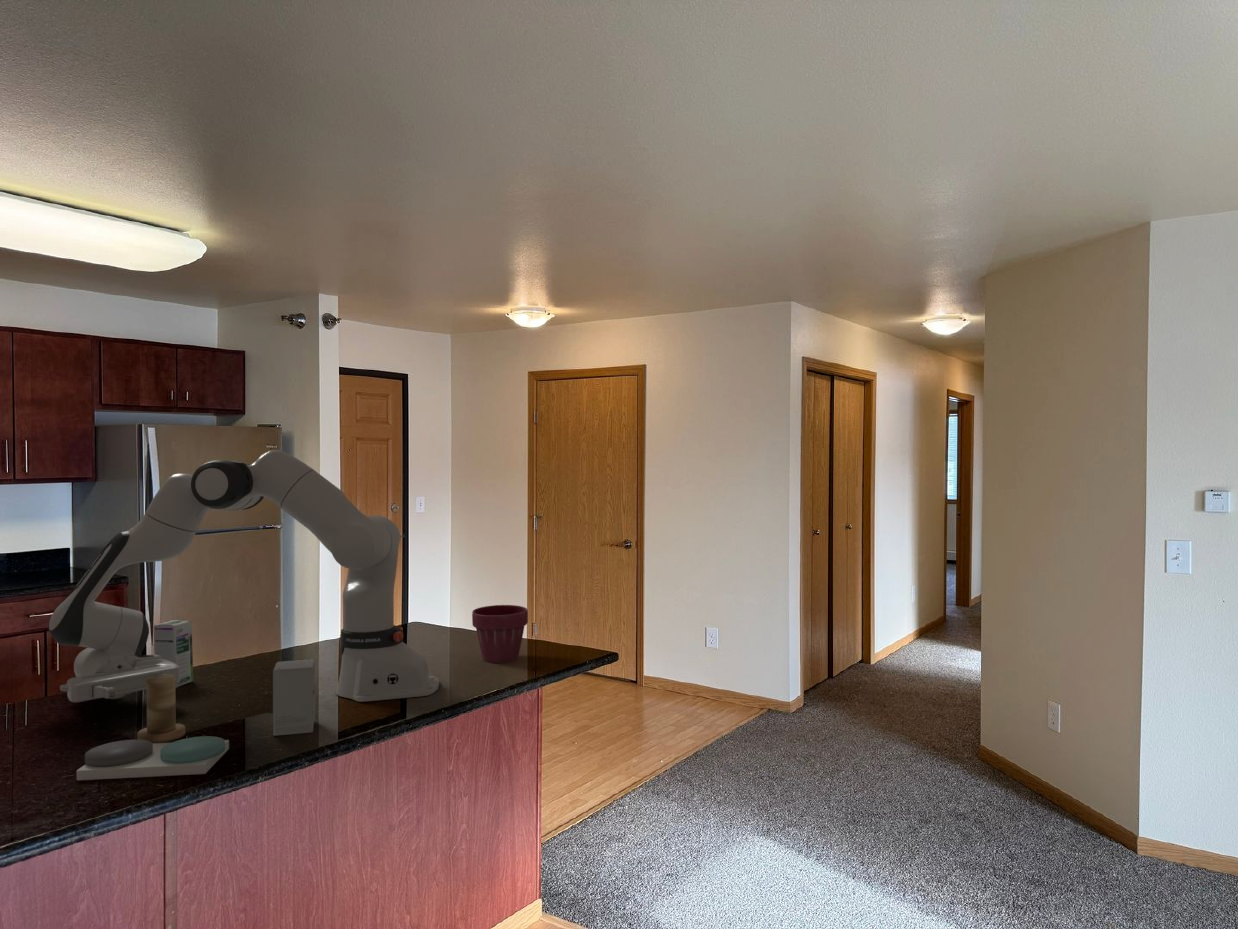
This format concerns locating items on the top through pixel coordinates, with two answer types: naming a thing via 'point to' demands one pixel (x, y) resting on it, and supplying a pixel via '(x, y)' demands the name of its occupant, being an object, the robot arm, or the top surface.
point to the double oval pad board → (152, 758)
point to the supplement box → (293, 697)
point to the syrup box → (176, 646)
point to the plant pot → (500, 631)
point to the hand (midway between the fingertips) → (137, 688)
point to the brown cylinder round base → (161, 711)
